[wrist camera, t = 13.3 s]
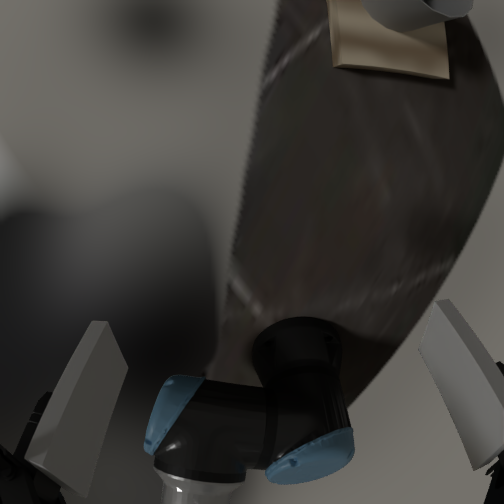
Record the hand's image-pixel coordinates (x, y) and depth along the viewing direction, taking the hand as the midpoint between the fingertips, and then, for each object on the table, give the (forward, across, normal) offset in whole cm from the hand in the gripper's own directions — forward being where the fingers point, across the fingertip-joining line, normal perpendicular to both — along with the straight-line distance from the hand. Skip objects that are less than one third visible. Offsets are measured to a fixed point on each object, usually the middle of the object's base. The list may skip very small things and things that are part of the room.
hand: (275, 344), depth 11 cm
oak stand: (+28, -16, -22) cm, 39 cm away
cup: (+24, -16, -22) cm, 36 cm away
